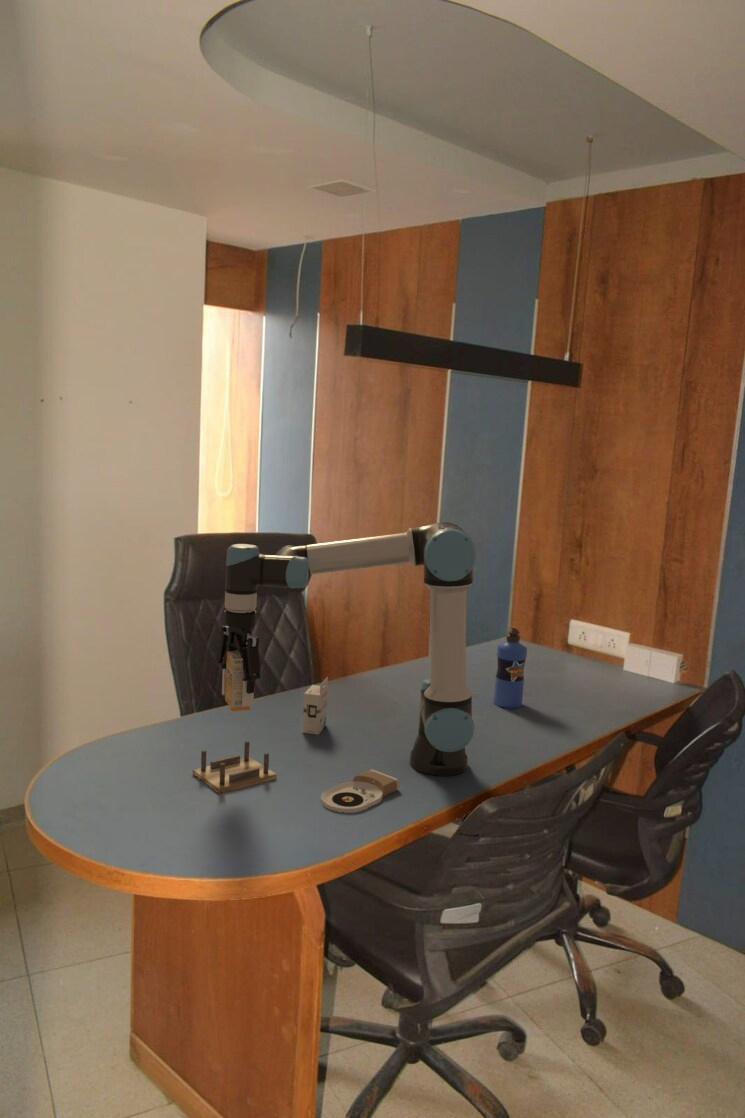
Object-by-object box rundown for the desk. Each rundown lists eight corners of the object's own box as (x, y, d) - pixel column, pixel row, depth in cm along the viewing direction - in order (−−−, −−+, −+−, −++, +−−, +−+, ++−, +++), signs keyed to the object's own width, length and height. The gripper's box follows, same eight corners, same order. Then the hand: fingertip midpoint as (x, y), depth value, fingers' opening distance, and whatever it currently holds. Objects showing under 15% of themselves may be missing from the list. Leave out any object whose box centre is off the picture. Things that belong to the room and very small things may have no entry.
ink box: (310, 723, 259) (312, 674, 256) (326, 725, 258) (328, 676, 255) (301, 733, 250) (304, 682, 248) (318, 735, 249) (321, 684, 247)
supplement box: (224, 700, 219) (225, 649, 217) (243, 699, 221) (245, 648, 218) (230, 711, 211) (232, 658, 209) (250, 710, 213) (252, 657, 211)
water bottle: (527, 707, 284) (534, 631, 279) (502, 709, 280) (508, 632, 276) (512, 698, 292) (518, 624, 288) (487, 700, 289) (493, 625, 285)
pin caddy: (276, 778, 219) (277, 754, 218) (218, 793, 208) (219, 768, 207) (248, 761, 228) (249, 738, 227) (192, 774, 218) (193, 750, 217)
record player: (403, 781, 215) (348, 807, 200) (402, 793, 215) (348, 820, 200) (366, 766, 222) (311, 790, 207) (365, 778, 223) (310, 803, 207)
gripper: (278, 617, 206) (274, 710, 210) (231, 598, 223) (228, 685, 226) (250, 620, 201) (246, 715, 205) (204, 601, 218) (202, 689, 222)
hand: (237, 699), depth 216 cm, fingers closed on supplement box, 9 cm apart
